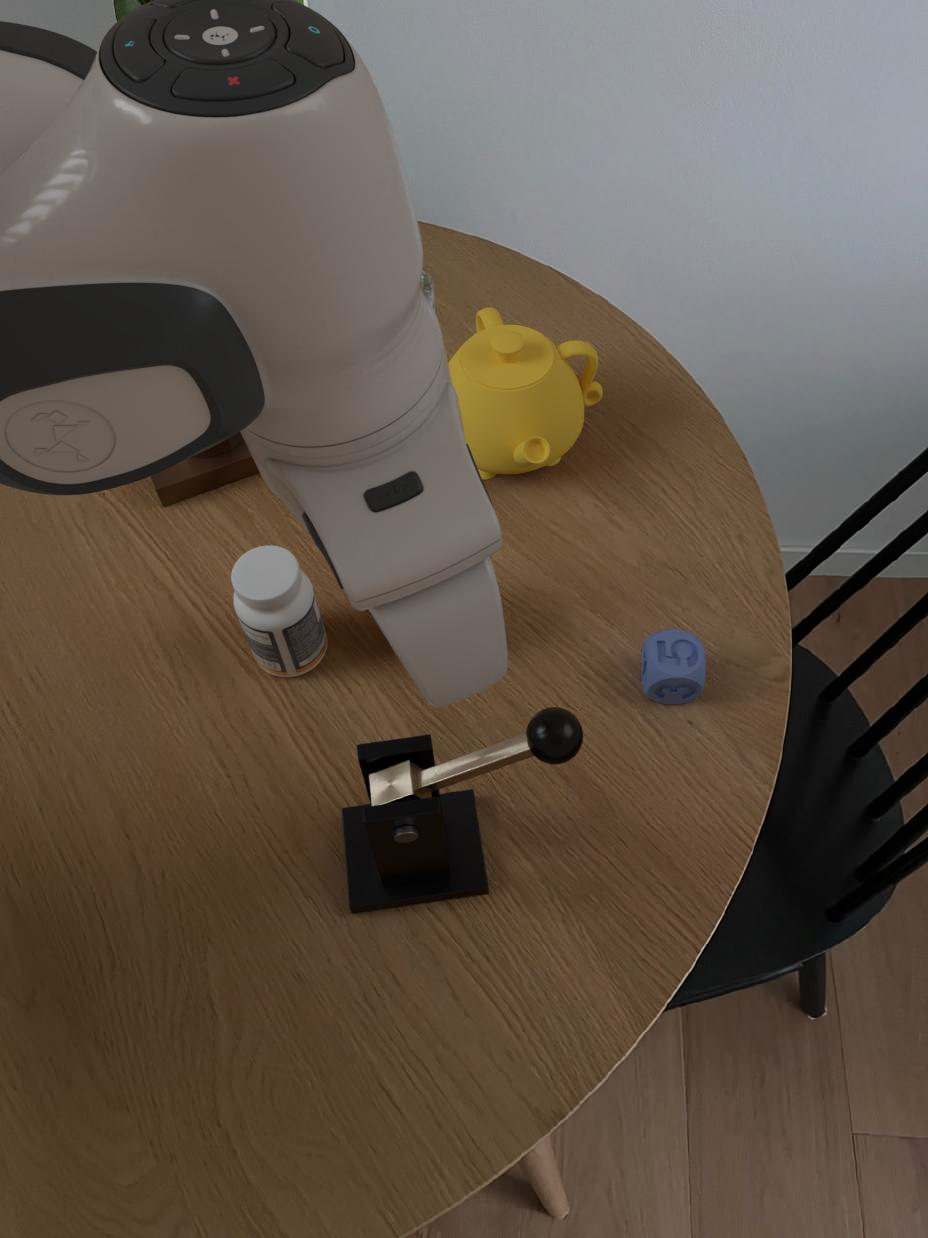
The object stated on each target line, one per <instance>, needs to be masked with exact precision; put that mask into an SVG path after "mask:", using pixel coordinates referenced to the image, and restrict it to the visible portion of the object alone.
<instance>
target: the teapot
mask: <svg viewBox="0 0 928 1238" xmlns="http://www.w3.org/2000/svg"><path fill="white" fill-rule="evenodd" d="M475 327H476V333H474V334H473V335H472V336H470V338H468V339H467V340H466V341H465V342H464V343H462V345H461V346H459V348H458V349H457V350H456V352H455V353H454V354H453V355H452V357H451V358H450V360H449V361H448V364H449V369H450V374H451V378H452V383H453V386H454V387H455V389H456V392H457V396H458V400H459V405H460V409H461V414H462V419H463V424H464V432H465V439H466V444H468V445H469V448H470V451H471V453H472V456H473V458H474V461H475V464H476V466H477V469H478V471H479V473H480V476H481V478H482V480H483V481H484V480H485V481H486V480H487V481H488V480H491V479H494V478H495V477H497V475H519V474H524V473H529V472H532V471H536V470H538V469H541V468H544V467H553V466H555V465H557V464H559V463H560V461H561V459H562V457H563V456H564V455H565V454H566V453H567V452H568V451H570V449H571V448H572V447H574V444H575V443H576V442H577V440H578V438H579V437H580V435H581V433H582V430H583V428H584V423H585V407H593V406H596V405H597V404H599V402H601V400H602V398H603V394H604V393H603V392H604V391H603V387H602V385H601V384H600V383H599V382H598V381H594V379H595V376H596V373H597V371H598V367H599V355H598V352H597V350H596V349H595V347H594V346H593V345H592V344H591V343H589V342H587V341H584V340H579V339H577V340H576V339H574V340H568V341H565V342H562V343H560V344H558V345H557V346H556V345H555V344H554V343H553V341H552V340H550V339H549V338H548V337H547V336H545V335H544V334H543V333H541V332H540V331H538V330H536V329H534V328H531V327H528V326H524V325H519V324H504V321H503V319H502V316H501V314H500V312H499V310H497V308H495V307H490V306H489V307H488V306H487V307H484V308H481V309H479V310H478V311H477V312H476V315H475ZM578 356H583V357H586V358H587V359H586V362H585V366H584V369H583V371H582V373H581V376H580V378H578V377H577V376H578V375H576V372H575V370H574V368H573V366H572V365H571V364H570V362H569V360H568V359H569V358H572V357H578Z"/></svg>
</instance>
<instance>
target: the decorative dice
mask: <svg viewBox="0 0 928 1238" xmlns="http://www.w3.org/2000/svg"><path fill="white" fill-rule="evenodd" d="M641 648H642V649H641V686H642V691H643V694H645V695H646V696H647V697H648V698H649V699H650V700H652V701H654V702H656V703H658V704H664V705H682V704H687V703H690V702H692V701H694V700H696V699H697V698H699V697H700V696H701V695H702V694H703V693H704V689H705V685H706V674H707V673H706V671H707V670H706V667H707V665H706V664H707V663H706V662H707V661H706V652H705V645H704V641H702V640H701V639H700V638H699V636H696V634H694V633H692V632H690V631H688V630H685V629H678V628H668V629H662V630H659V631H656V632H653V633H651V634H650V635H649V636H647V638H645V639H644V640H643V642H642V647H641Z"/></svg>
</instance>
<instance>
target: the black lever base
mask: <svg viewBox="0 0 928 1238" xmlns="http://www.w3.org/2000/svg"><path fill="white" fill-rule="evenodd" d="M432 740H433V739H432V734H430V733H429V734H422V735H414V736H409V737H402V738H394V739H393V738H392V739H386V740H380V741H373V742H372V741H371V742H365V743H359V744H356V754H357V761H358V765H359V768H360V772H361V776H362V778H363V782H364V785H365V786H364V787H365V790H366V793H367V797H368V801H369V803H368V804H366V803H365V804H360V805H353V806H347V807H342V808H341V818H342V819H341V820H342V831H343V832H342V833H343V847H344V858H345V859H344V860H345V870H346V883H347V884H346V885H347V895H348V896H347V897H348V908H349V911H350V913H351V914H352V915H355V914H356V915H357V914H362V913H368V912H376V911H382V910H383V911H384V910H388V909H394V908H395V909H396V908H402V907H409V906H415V905H423V904H429V903H437V902H442V901H450V900H456V899H464V898H469V897H476V896H483V895H489V892H490V890H489V881H488V875H487V869H486V864H485V856H484V850H483V844H482V843H483V842H482V837H481V831H480V829H481V828H480V824H479V823H480V822H479V817H478V810H477V805H476V804H477V803H476V798H475V797H476V796H475V791H474V789H473V788H472V789H471V788H470V789H465V790H458V791H450V792H444V793H443V792H442V793H440V789H439V790H436V791H433V792H431V795H432V797H431V798H424V799H417V800H410V801H403V802H396V803H389V804H382V805H375V806H372V804H371V793H370V783H369V774H372V773H375V772H377V771H380V770H383V769H385V768H388V767H391V766H394V765H396V764H399V763H402V762H405V761H407V760H410V761H412V762H413V763H414V764H416V765H417V766H419V767H420V768H422V769H423V770H424V769H427V768H430V767H433V766H436V760H435V754H434V747H433V741H432Z"/></svg>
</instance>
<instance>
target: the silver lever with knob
mask: <svg viewBox="0 0 928 1238" xmlns="http://www.w3.org/2000/svg"><path fill="white" fill-rule="evenodd" d="M583 742H584V730H583V727H582V724H581V722H580V720H579V718H578V717H577V716H576V715H575V714H574V713H572V712H571V711H569V710H568V709H565V708H563V707H558V706H551V707H545V708H543V709H541V710H539V711H538V712H536V713H535V714H534V715H533V716H532V717H531V719H530V720H529V721H528V724H527V727H526V731H525V732H524V733H522V734H519V735H516V736H512V737H511V738H508V739H505V740H502V741H500V742H497V743H493V744H491V745H487V746H486V747H482V748H480V749H477V750H475V751H474V750H473V751H472V752H469V753H466V754H464V755H461V756H458V757H455V758H452V759H450V760H447V761H444V762H442V763H441V762H440V763H439V764H435V766H433V767H430V768H427V769H424V770H423V769H422V768H420V767H419V766H417V765H416V764H414V763H413V762H412V761H410V760H407V761H405V762H402V763H399V764H396V765H394V766H391V767H388V768H385V769H383V770H380V771H377V772H375V773H372V774H369V783H370V793H371V804H372V806H375V805H382V804H389V803H396V802H403V801H410V800H417V799H424V798H431V797H432V795H431V792H433V791H436V790H439V791H440V790H442V789H444V788H448V787H450V786H453V785H456V784H459V783H462V782H464V781H467V780H470V779H473V778H475V777H476V778H477V777H478V776H481V775H484V774H486V773H491V772H492V771H496V770H499V769H501V768H504V767H507V766H510V765H513V764H515V763H519V762H521V761H524V760H527V759H530V758H532V757H534V758H535V759H537V760H539V761H540V762H542V763H543V764H548V765H563V764H566V763H568V762H569V761H571V760H573V759H574V758H575V757H576V756H577V755H578V753H579V752H580V750H581V749H582V746H583Z"/></svg>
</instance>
